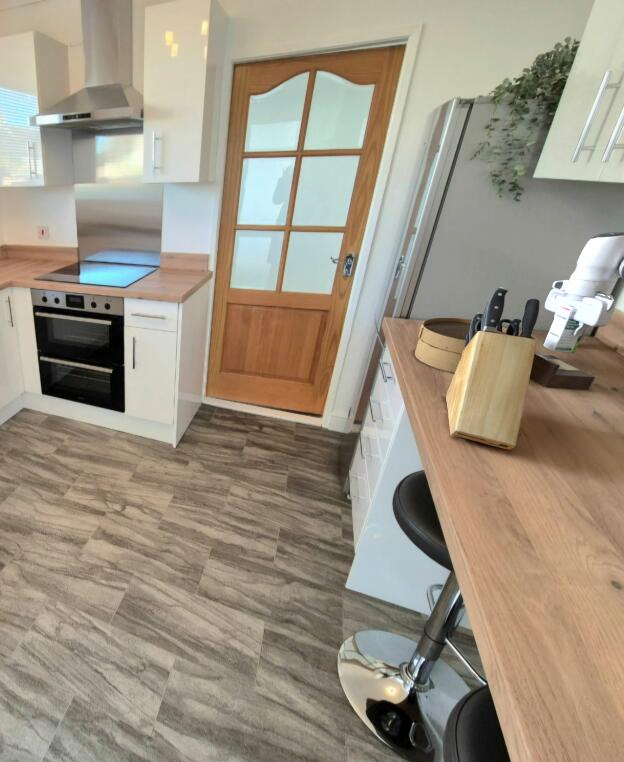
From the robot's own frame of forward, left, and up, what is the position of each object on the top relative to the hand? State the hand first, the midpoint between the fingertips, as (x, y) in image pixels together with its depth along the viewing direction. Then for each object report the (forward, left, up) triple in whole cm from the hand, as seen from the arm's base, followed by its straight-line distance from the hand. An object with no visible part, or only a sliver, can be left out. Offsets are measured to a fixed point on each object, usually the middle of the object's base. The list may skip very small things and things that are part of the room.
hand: (566, 331), depth 136 cm
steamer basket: (+30, +4, -11) cm, 32 cm away
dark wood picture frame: (+10, +13, -11) cm, 19 cm away
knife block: (+46, +42, -11) cm, 63 cm away
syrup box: (0, 0, -6) cm, 6 cm away
